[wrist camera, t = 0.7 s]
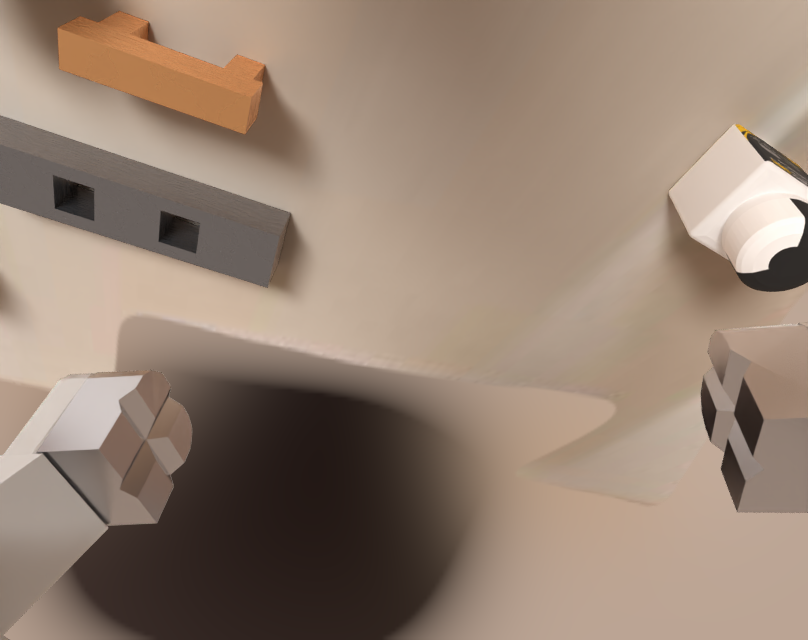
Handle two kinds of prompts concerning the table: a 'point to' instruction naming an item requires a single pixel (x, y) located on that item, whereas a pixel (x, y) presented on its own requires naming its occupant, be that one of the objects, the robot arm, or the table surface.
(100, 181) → the rail
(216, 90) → the wooden arch block
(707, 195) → the medicine bottle
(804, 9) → the table surface
